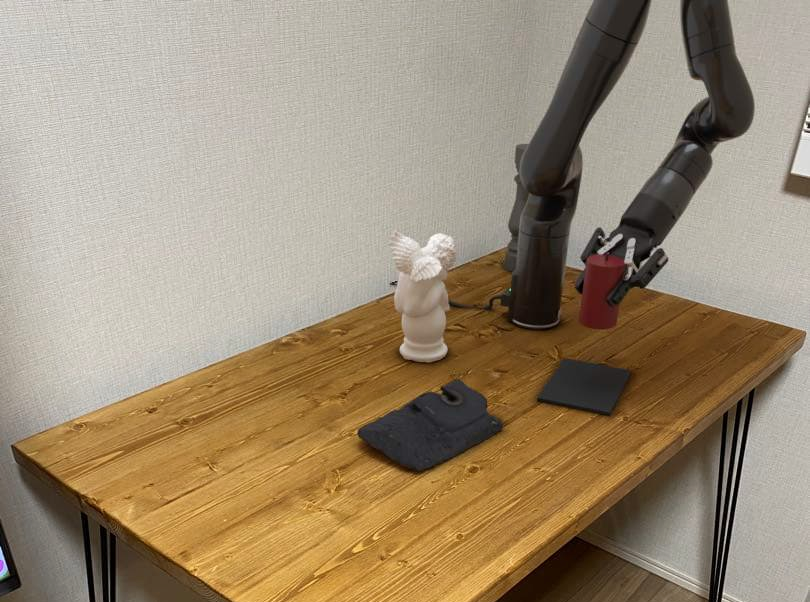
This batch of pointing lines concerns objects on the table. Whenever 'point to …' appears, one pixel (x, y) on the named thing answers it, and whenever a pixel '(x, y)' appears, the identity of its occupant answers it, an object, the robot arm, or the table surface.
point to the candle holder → (516, 213)
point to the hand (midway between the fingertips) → (594, 297)
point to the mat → (585, 386)
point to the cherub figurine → (422, 294)
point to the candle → (600, 291)
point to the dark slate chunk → (433, 427)
